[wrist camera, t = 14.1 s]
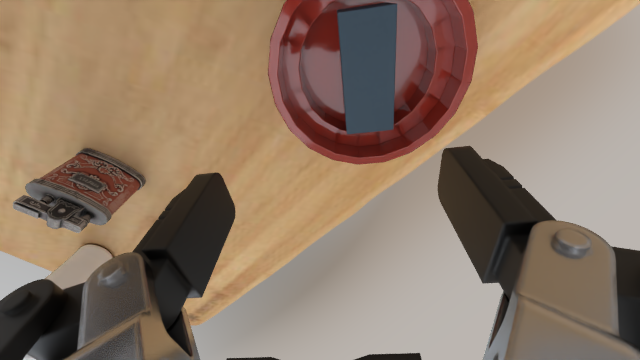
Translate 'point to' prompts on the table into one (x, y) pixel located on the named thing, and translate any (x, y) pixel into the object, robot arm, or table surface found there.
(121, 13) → the table surface
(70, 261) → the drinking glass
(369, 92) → the blue rectangular block
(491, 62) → the table surface
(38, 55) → the table surface
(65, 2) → the table surface
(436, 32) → the bowl
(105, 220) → the lighter
